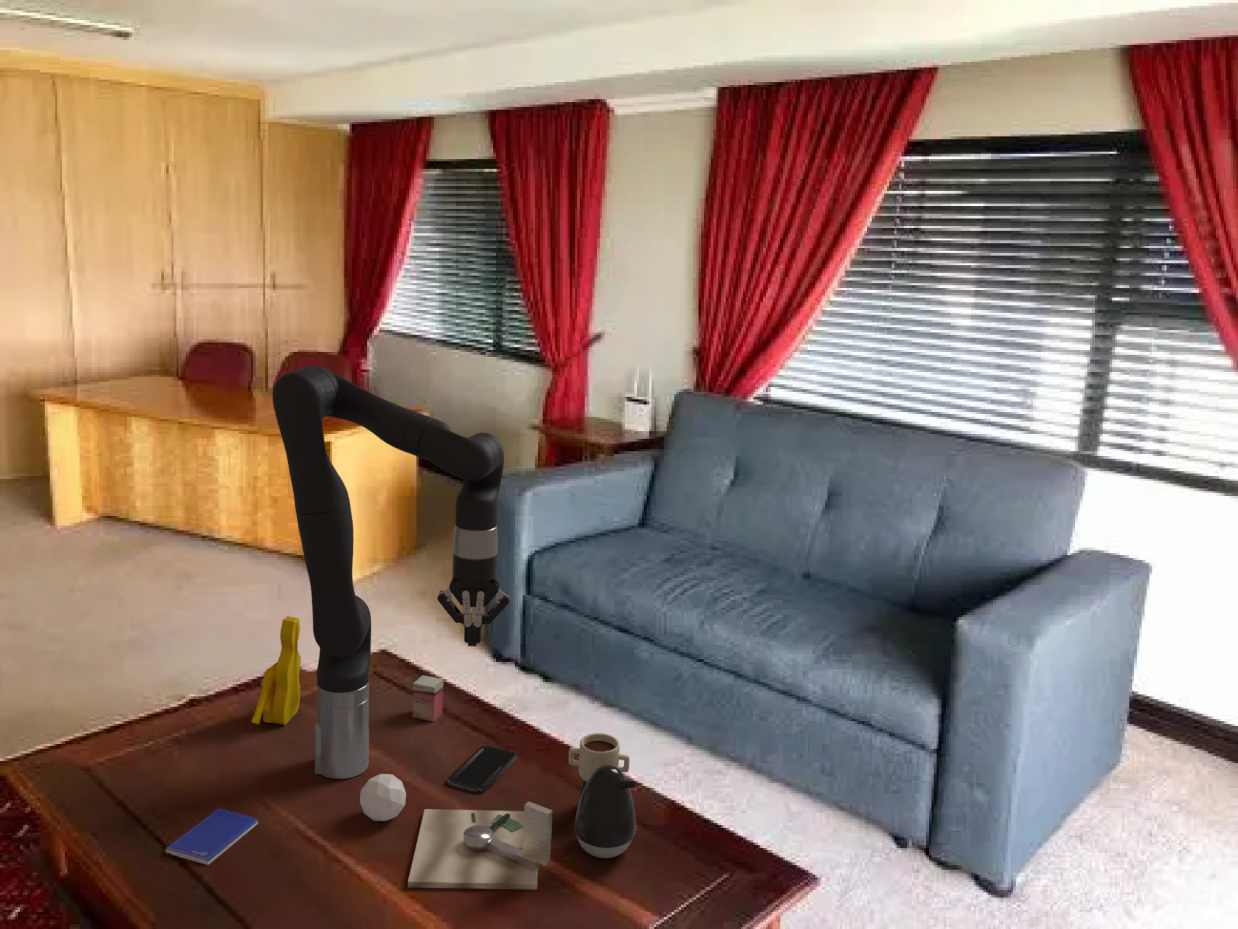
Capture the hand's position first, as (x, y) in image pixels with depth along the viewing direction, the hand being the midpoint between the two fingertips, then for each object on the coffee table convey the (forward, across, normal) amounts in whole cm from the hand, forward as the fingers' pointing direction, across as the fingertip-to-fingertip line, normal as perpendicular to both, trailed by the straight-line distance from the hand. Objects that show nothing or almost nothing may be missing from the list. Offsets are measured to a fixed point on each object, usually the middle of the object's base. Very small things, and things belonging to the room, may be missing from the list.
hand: (472, 644), depth 178 cm
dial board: (+29, +3, -17) cm, 34 cm away
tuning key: (+28, +10, -17) cm, 34 cm away
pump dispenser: (+29, +24, -16) cm, 41 cm away
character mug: (+29, +23, -4) cm, 37 cm away
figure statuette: (+29, -40, +26) cm, 56 cm away
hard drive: (+30, -40, -15) cm, 52 cm away
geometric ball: (+29, -14, -8) cm, 33 cm away
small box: (+29, -11, +29) cm, 43 cm away
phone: (+30, +2, +8) cm, 31 cm away
